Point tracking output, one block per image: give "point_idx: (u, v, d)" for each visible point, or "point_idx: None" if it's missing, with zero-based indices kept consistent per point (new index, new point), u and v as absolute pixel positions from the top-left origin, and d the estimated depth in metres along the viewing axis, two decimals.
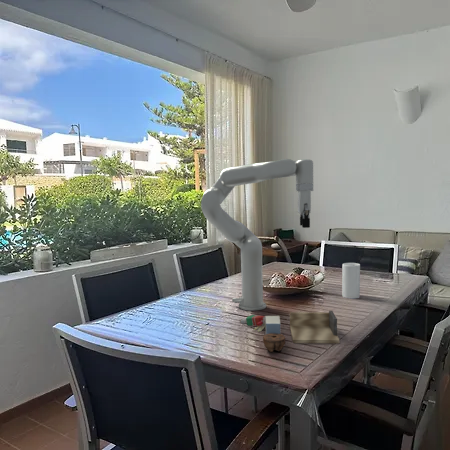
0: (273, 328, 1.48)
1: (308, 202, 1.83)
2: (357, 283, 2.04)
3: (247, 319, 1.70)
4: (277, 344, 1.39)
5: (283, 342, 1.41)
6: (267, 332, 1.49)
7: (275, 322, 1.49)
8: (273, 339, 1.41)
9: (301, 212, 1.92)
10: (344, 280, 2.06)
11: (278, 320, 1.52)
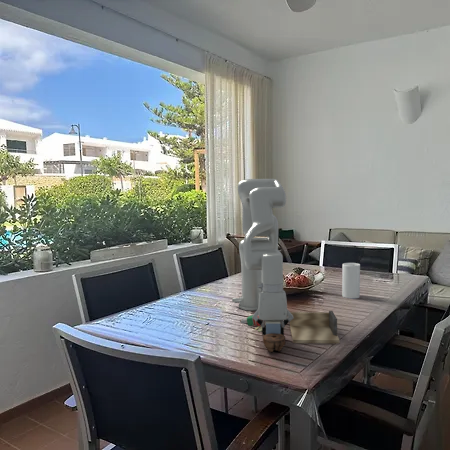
0: (273, 328, 1.48)
1: None
2: (357, 283, 2.04)
3: (248, 319, 1.70)
4: (277, 344, 1.39)
5: (283, 342, 1.41)
6: (267, 332, 1.49)
7: (275, 322, 1.49)
8: (273, 339, 1.41)
9: (266, 319, 1.52)
10: (344, 280, 2.06)
11: (278, 320, 1.52)
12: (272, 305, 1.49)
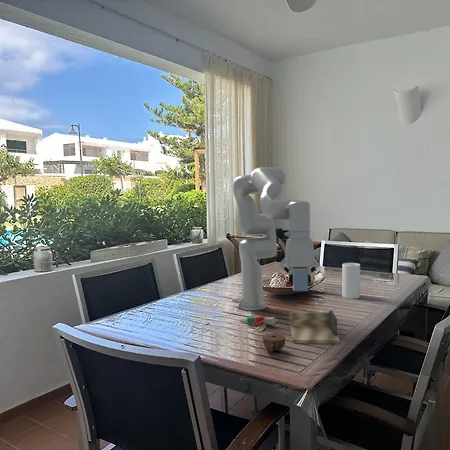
0: (301, 274, 1.50)
1: None
2: (357, 283, 2.04)
3: (248, 319, 1.70)
4: (277, 344, 1.39)
5: (283, 342, 1.41)
6: (295, 278, 1.50)
7: (302, 269, 1.50)
8: (273, 339, 1.41)
9: (293, 267, 1.53)
10: (344, 280, 2.06)
11: (305, 267, 1.53)
12: (299, 252, 1.51)
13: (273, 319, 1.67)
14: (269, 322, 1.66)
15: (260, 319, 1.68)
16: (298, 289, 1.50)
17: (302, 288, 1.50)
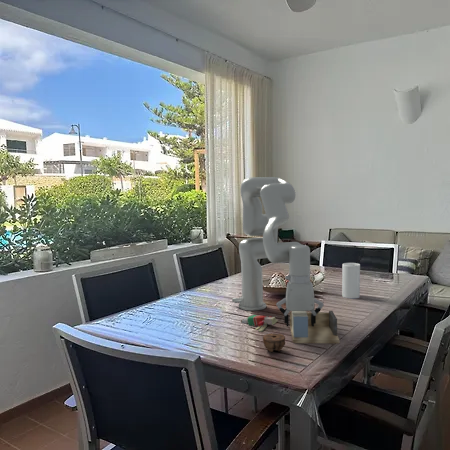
0: (301, 321, 1.51)
1: None
2: (357, 283, 2.04)
3: (248, 319, 1.70)
4: (277, 344, 1.39)
5: (283, 342, 1.41)
6: (295, 325, 1.52)
7: (302, 315, 1.52)
8: (273, 339, 1.41)
9: None
10: (344, 280, 2.06)
11: (305, 313, 1.55)
12: (300, 296, 1.52)
13: (273, 319, 1.67)
14: (269, 322, 1.66)
15: (260, 319, 1.68)
16: (298, 335, 1.52)
17: (302, 334, 1.52)
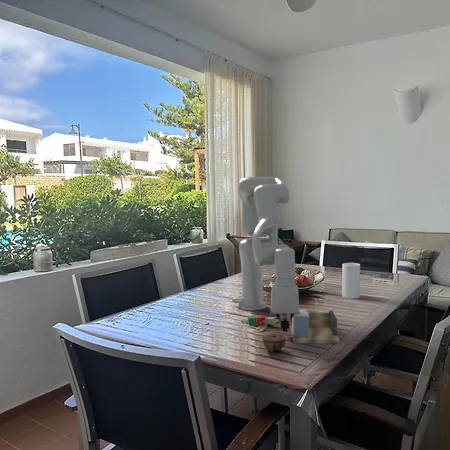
0: (302, 320, 1.51)
1: None
2: (357, 283, 2.04)
3: (249, 319, 1.70)
4: (277, 344, 1.39)
5: (283, 342, 1.41)
6: (295, 324, 1.52)
7: (303, 315, 1.52)
8: (273, 339, 1.41)
9: None
10: (344, 280, 2.06)
11: (306, 313, 1.55)
12: (284, 298, 1.53)
13: (274, 319, 1.67)
14: (270, 322, 1.66)
15: (261, 319, 1.68)
16: (298, 335, 1.52)
17: (302, 334, 1.52)
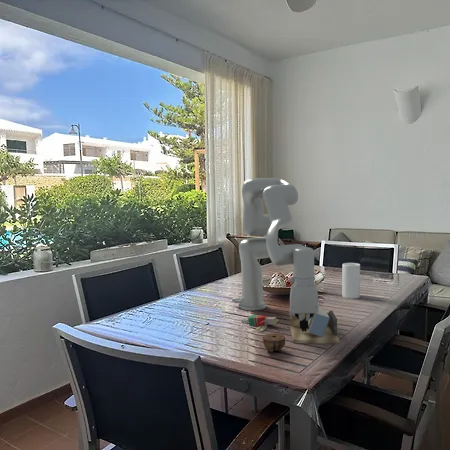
0: (321, 320, 1.51)
1: None
2: (357, 283, 2.04)
3: (249, 319, 1.70)
4: (277, 344, 1.39)
5: (283, 342, 1.41)
6: (314, 321, 1.51)
7: (324, 315, 1.52)
8: (273, 339, 1.41)
9: None
10: (344, 280, 2.06)
11: (326, 314, 1.54)
12: (304, 298, 1.52)
13: (274, 319, 1.67)
14: (270, 322, 1.66)
15: (261, 319, 1.68)
16: (314, 332, 1.51)
17: (318, 333, 1.51)
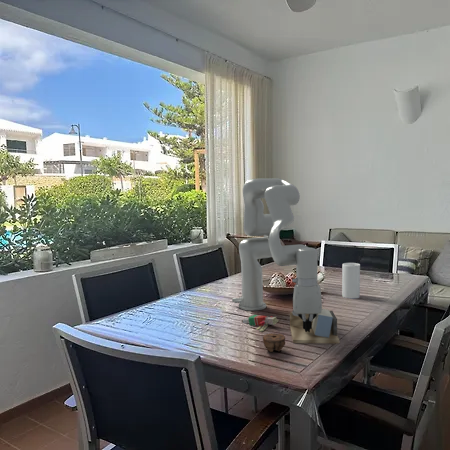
0: (325, 320, 1.50)
1: None
2: (357, 283, 2.04)
3: (249, 319, 1.70)
4: (277, 344, 1.39)
5: (283, 342, 1.41)
6: (318, 323, 1.51)
7: (327, 315, 1.51)
8: (273, 339, 1.41)
9: None
10: (344, 280, 2.06)
11: (329, 313, 1.54)
12: (307, 299, 1.52)
13: (274, 319, 1.67)
14: (270, 322, 1.66)
15: (261, 319, 1.68)
16: (319, 334, 1.51)
17: (323, 334, 1.51)
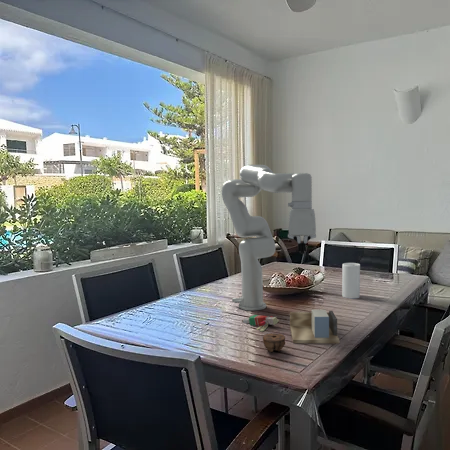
0: (322, 321, 1.51)
1: None
2: (357, 283, 2.04)
3: (250, 319, 1.70)
4: (277, 344, 1.39)
5: (283, 342, 1.41)
6: (316, 325, 1.51)
7: (323, 316, 1.51)
8: (273, 339, 1.41)
9: None
10: (344, 280, 2.06)
11: (325, 313, 1.54)
12: (302, 221, 1.60)
13: (275, 319, 1.67)
14: (271, 322, 1.66)
15: (262, 319, 1.68)
16: (319, 336, 1.51)
17: (323, 335, 1.51)
